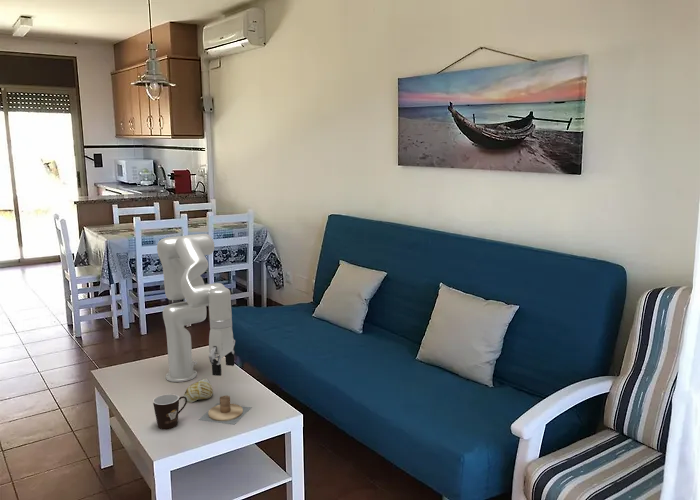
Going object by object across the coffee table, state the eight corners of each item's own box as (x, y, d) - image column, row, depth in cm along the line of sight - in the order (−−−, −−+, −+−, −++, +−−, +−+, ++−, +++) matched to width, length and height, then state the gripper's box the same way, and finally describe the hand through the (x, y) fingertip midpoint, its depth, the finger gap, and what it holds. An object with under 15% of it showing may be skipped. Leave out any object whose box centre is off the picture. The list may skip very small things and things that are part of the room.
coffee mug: (156, 434, 196) (154, 406, 195) (153, 423, 204) (151, 396, 202) (191, 427, 201) (189, 400, 199) (187, 417, 209) (186, 390, 207)
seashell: (177, 402, 219) (182, 375, 222) (192, 404, 228) (196, 378, 231) (200, 404, 216) (205, 377, 219) (214, 406, 225) (219, 380, 227)
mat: (217, 404, 219) (217, 403, 219) (252, 408, 215) (252, 407, 215) (198, 421, 205) (198, 419, 205) (234, 426, 202) (234, 424, 202)
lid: (218, 404, 217) (217, 389, 216) (248, 408, 214) (247, 392, 213) (202, 419, 206) (201, 402, 205) (233, 422, 203) (232, 406, 202)
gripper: (223, 315, 213) (225, 361, 216) (198, 329, 197) (201, 378, 200) (241, 317, 211) (244, 362, 214) (218, 331, 195) (221, 380, 198)
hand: (223, 370), depth 207 cm, fingers open, 9 cm apart
